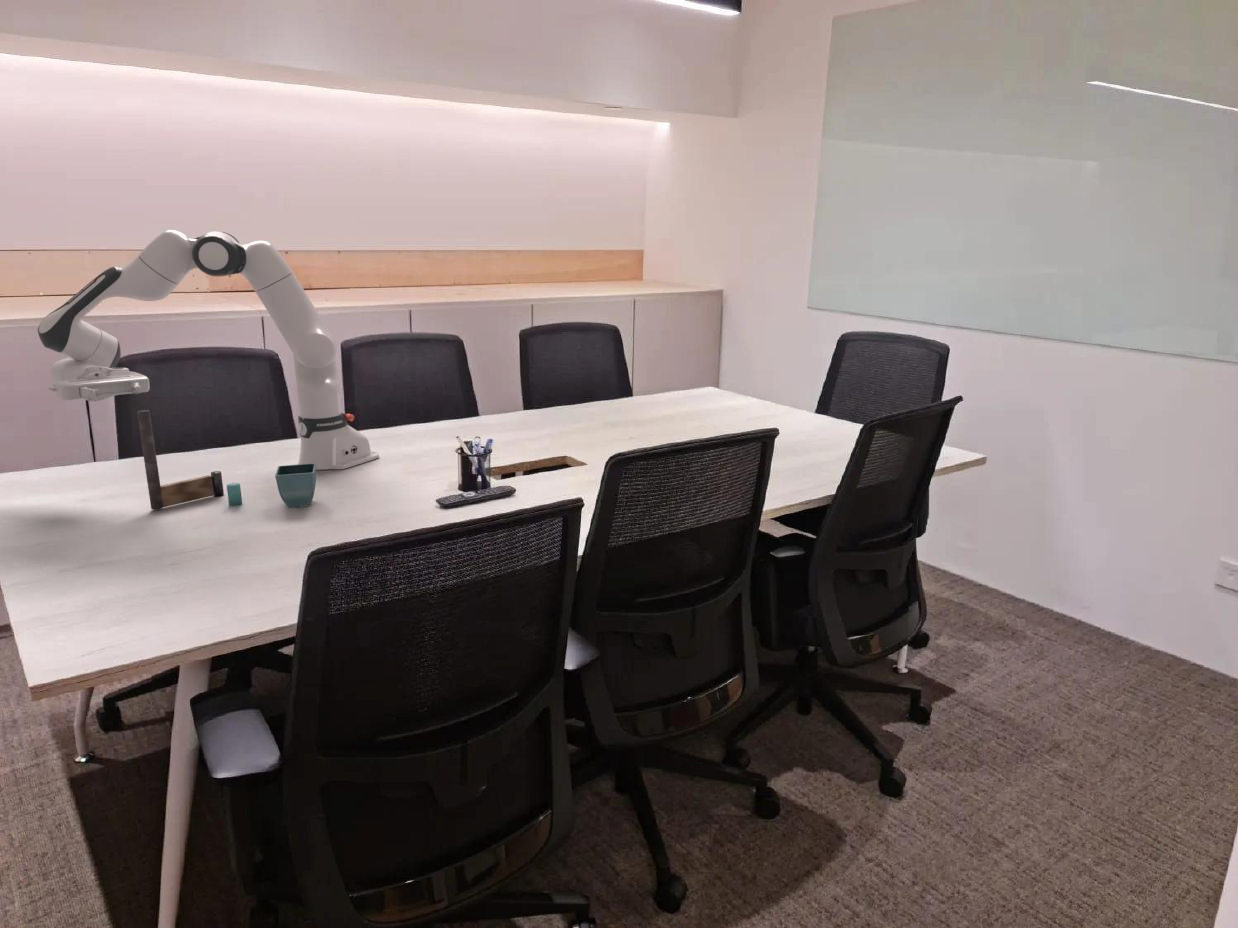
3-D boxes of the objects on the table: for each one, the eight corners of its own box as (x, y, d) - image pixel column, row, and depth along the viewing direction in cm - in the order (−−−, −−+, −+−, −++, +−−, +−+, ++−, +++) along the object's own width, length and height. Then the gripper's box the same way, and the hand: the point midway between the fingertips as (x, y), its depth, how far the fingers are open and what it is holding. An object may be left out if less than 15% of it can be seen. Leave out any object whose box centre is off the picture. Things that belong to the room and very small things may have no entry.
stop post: (238, 501, 218) (236, 482, 217) (244, 504, 216) (242, 484, 215) (226, 504, 216) (224, 484, 214) (232, 507, 214) (230, 487, 213)
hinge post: (221, 493, 225) (218, 470, 223) (225, 495, 223) (222, 472, 222) (211, 495, 223) (208, 472, 221) (216, 497, 221) (213, 474, 220)
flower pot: (278, 511, 211) (274, 475, 209) (281, 500, 219) (278, 465, 217) (317, 508, 213) (314, 472, 211) (319, 497, 221) (315, 462, 219)
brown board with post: (209, 493, 222) (198, 401, 216) (214, 495, 221) (203, 403, 215) (149, 508, 212) (135, 411, 205) (154, 510, 210) (140, 413, 204)
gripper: (44, 374, 212) (69, 383, 204) (132, 367, 228) (159, 375, 220) (46, 400, 213) (72, 410, 206) (134, 391, 229) (161, 400, 221)
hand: (118, 392), depth 213 cm, fingers open, 8 cm apart
